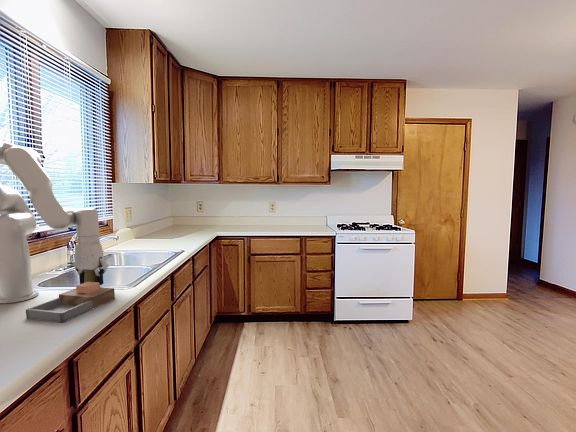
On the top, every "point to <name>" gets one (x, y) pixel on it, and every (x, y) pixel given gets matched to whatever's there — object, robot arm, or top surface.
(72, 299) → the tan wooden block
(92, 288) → the tile
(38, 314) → the box
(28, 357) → the top surface
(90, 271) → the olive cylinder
